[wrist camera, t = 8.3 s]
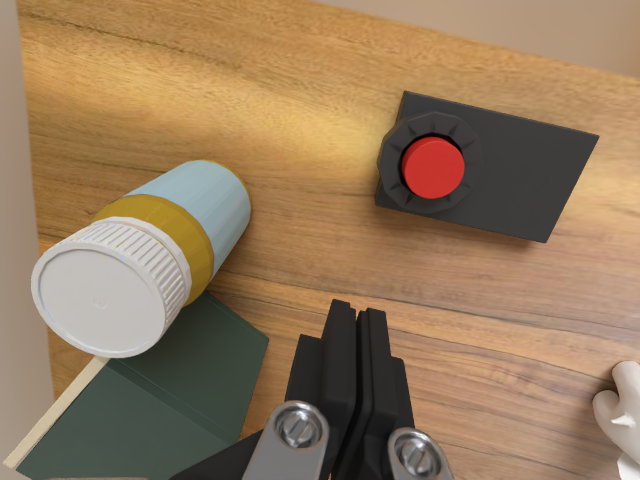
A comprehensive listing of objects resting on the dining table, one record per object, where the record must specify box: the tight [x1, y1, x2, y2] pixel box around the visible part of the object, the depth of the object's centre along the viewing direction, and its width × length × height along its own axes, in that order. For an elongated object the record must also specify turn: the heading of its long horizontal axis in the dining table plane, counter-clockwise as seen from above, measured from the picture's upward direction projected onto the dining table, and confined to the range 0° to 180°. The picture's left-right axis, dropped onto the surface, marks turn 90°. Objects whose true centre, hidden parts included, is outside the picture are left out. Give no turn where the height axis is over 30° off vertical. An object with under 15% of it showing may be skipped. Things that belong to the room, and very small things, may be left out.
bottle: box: [31, 159, 252, 358], centre depth 24 cm, size 7×7×15 cm
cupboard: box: [16, 290, 269, 480], centre depth 32 cm, size 10×14×12 cm
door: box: [3, 355, 111, 468], centre depth 30 cm, size 2×14×11 cm, turn 137°
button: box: [402, 137, 464, 199], centre depth 24 cm, size 4×4×2 cm
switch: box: [374, 91, 599, 243], centre depth 27 cm, size 14×8×4 cm, turn 78°
